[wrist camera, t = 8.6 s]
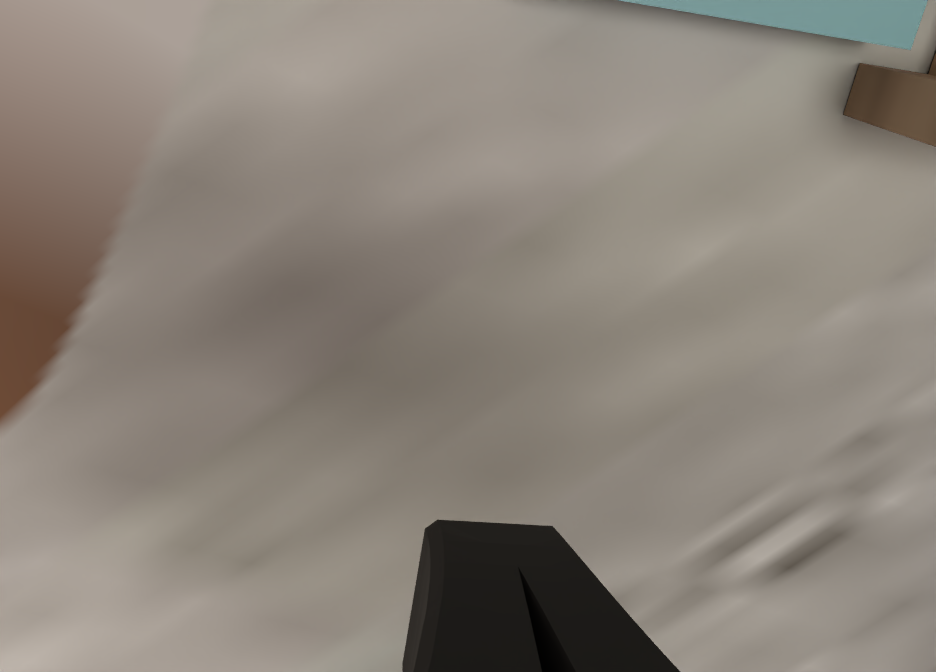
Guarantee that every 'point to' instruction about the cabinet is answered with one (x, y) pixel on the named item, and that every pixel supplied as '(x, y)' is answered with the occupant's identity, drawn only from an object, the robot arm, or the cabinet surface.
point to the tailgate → (818, 16)
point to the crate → (895, 101)
